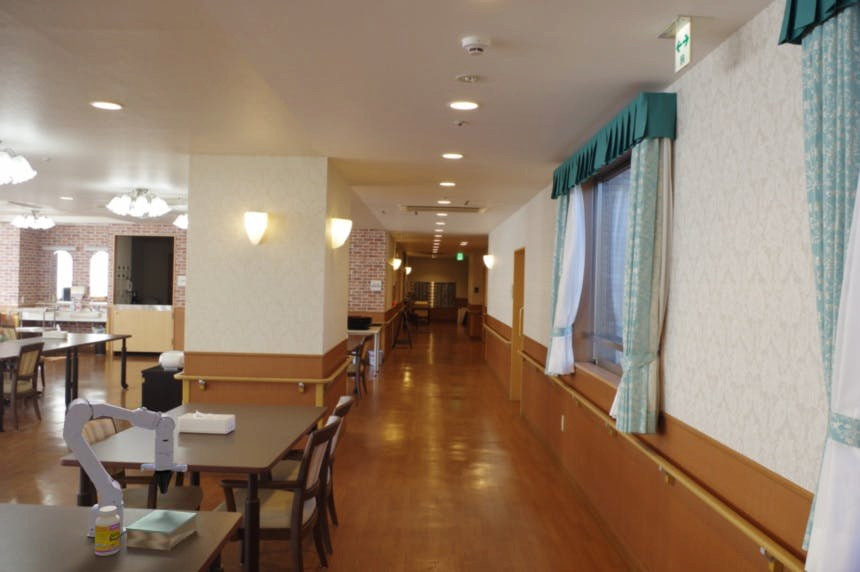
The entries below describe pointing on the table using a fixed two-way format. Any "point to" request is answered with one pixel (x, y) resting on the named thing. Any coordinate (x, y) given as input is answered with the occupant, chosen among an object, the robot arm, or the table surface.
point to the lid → (161, 521)
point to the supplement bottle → (107, 531)
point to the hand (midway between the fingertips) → (163, 492)
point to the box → (160, 537)
